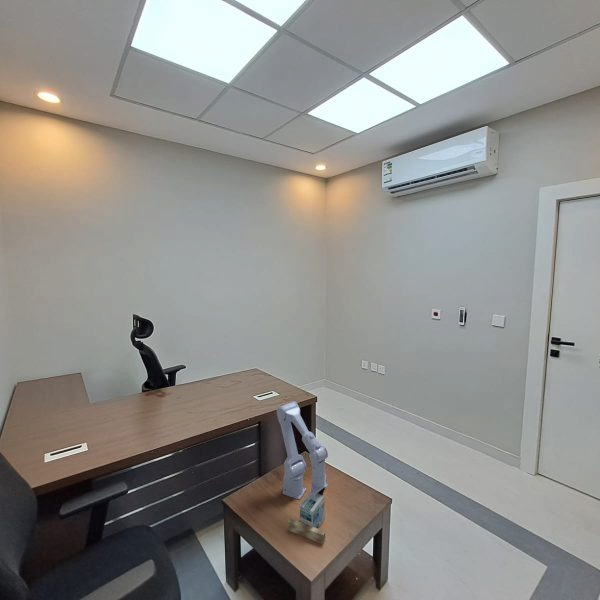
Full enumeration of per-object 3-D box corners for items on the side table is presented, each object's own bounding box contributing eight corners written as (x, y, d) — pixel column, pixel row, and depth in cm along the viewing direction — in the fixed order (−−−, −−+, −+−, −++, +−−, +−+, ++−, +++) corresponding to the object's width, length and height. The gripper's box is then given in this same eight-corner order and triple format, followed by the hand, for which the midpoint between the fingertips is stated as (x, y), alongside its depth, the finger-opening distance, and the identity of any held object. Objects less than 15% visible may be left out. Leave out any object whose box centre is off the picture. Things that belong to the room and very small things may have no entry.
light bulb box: (313, 536, 131) (313, 512, 129) (299, 529, 134) (299, 505, 133) (325, 518, 140) (325, 495, 138) (312, 512, 143) (311, 490, 142)
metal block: (288, 530, 134) (287, 521, 133) (290, 526, 135) (290, 518, 135) (323, 544, 127) (323, 535, 126) (325, 540, 129) (325, 531, 128)
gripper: (320, 486, 133) (321, 516, 135) (332, 466, 146) (332, 494, 148) (305, 482, 136) (306, 511, 138) (318, 462, 149) (318, 489, 151)
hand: (318, 501), depth 143 cm, fingers closed
